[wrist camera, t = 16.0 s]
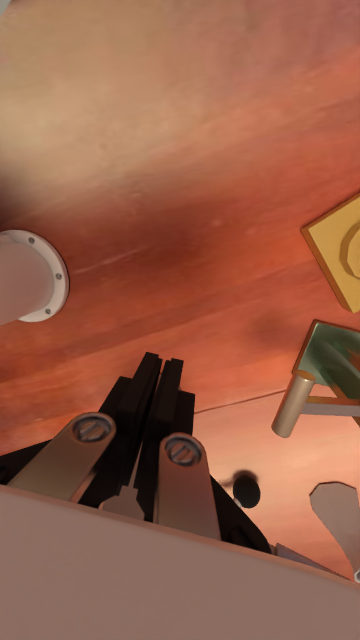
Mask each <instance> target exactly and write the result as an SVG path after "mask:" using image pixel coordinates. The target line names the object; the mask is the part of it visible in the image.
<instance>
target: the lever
mask: <svg viewBox="0 0 360 640" xmlns="http://www.w3.org/2000/svg"><path fill="white" fill-rule="evenodd" d="M315 381H316V378H315V377H314V376H313V375H312V374H310V373H309V372H307V371H304V370H300V369H297V370H295V371H294V373H293V376H292V378H291V380H290V383H289V385H288V388H287V390H286V392H285V395H284V397H283V399H282V402H281V404H280V406H279V409H278V411H277V414H276V416H275V418H274V421H273V423H272V425H271V428H272V430H273V431H274V433H276V434H277V435H278V436H280V437H283V438H288V437H290V435H291V433H292V431H293V429H294V426H295V424H296V422H297V420H298V418H299V416H300V414H313V415H334V416H355V417H360V399H346V398H332V397H318V396H309V394H310V392H311V390H312V387H313V385H314V383H315Z"/></svg>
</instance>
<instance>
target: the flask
mask: <svg viewBox="0 0 360 640" xmlns="http://www.w3.org/2000/svg"><path fill="white" fill-rule="evenodd" d="M310 500H311V505H312V510H313V511H314V513H315V514H316V515H317V516H318V518H319V519H320V520H321V521H322V523H323V524H324V525H325V526H326V527H327V529H328V530H329V531H330V533H331V534H332V535H333V537H334V538H335V539H336V541H337V542H338V543H339V545H340V546H341V547H342V549H343V551H344V553H345V554H346V556H347V558H348V559H349V561H350V564H351V566H352V568H353V575H354V580H355V581H356V582H358V583H360V507H359V500H358V494H357V490H356V489H353V488H351V487H348V486H346V485H343V484H341V483H332V484H321V485H319V486H318V487H317V488H316V489H315V491H314V492H313V493H312V495H311V496H310Z"/></svg>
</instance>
